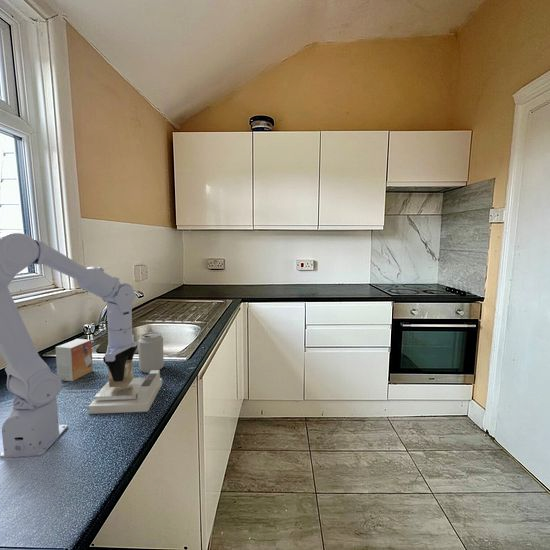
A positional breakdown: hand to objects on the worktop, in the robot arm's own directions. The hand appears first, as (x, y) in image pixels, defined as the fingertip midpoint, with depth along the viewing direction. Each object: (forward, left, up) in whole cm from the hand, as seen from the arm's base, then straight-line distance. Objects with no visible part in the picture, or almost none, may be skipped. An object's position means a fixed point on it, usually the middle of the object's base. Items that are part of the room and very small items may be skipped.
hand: (122, 376), depth 82 cm
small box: (+15, +19, -6) cm, 25 cm away
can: (+18, -3, -6) cm, 19 cm away
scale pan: (0, 0, -4) cm, 4 cm away
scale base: (0, -2, -6) cm, 6 cm away
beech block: (0, 0, -2) cm, 2 cm away
